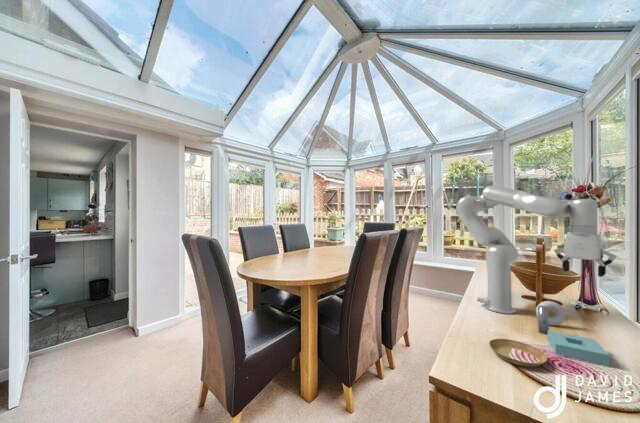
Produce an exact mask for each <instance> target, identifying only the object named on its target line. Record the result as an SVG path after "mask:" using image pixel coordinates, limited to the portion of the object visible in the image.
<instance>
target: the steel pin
mask: <svg viewBox="0 0 640 423" xmlns="http://www.w3.org/2000/svg"><path fill="white" fill-rule="evenodd" d="M537 306H538V305H537ZM549 317H550V316H549V310H548V307H545V306H538V317H537V319H538V320H537V321H538V325H537V326H538V333H540V334H542V335H548V333H547V330H549V331H550V328H549V327H550V325H549Z"/></svg>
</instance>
